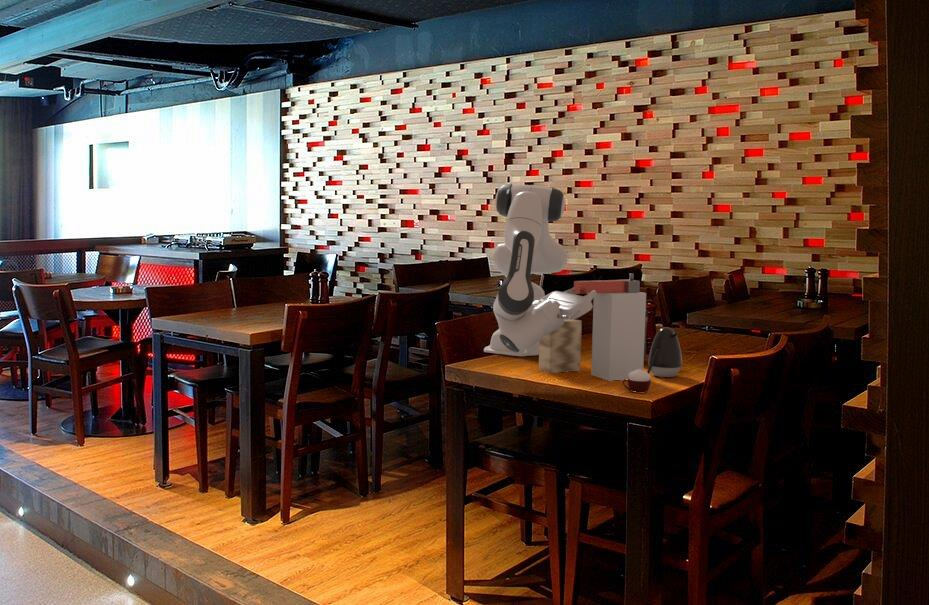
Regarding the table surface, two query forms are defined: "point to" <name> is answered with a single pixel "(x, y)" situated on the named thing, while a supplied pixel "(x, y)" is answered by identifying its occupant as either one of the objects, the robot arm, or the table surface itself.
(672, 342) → the grey rounded upright piece
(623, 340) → the tall grey pillar block
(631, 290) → the pin spanner
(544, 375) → the table surface
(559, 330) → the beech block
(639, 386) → the cocoa
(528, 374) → the table surface
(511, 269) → the robot arm
